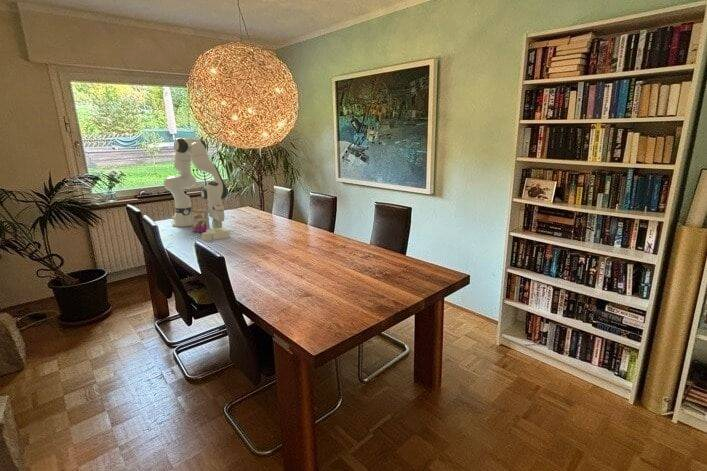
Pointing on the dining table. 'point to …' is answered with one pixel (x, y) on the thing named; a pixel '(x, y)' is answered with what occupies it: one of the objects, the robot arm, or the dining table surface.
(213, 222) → the green cube
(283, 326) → the dining table surface
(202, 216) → the candy bar box
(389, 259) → the dining table surface
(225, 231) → the base block
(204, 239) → the beige cube
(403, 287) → the dining table surface
